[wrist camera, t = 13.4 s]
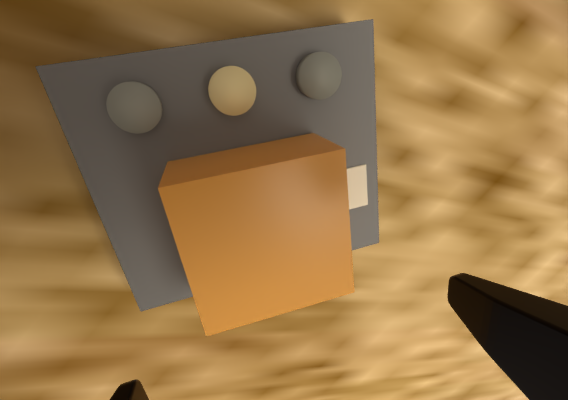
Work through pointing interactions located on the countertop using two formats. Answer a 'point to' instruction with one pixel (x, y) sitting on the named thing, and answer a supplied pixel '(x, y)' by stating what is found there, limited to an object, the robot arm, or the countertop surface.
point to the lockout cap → (261, 228)
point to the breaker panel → (211, 128)
